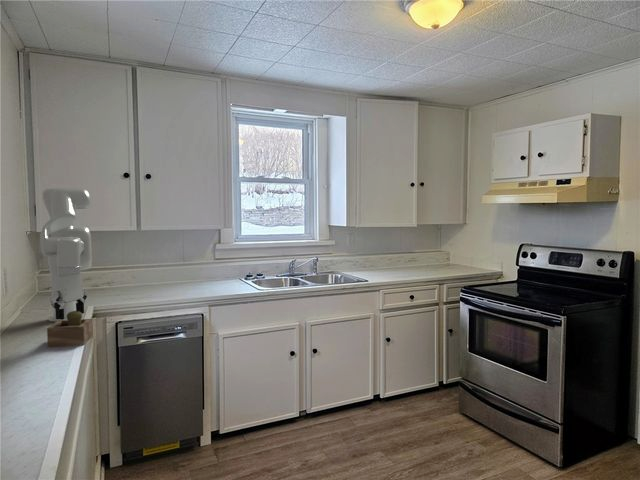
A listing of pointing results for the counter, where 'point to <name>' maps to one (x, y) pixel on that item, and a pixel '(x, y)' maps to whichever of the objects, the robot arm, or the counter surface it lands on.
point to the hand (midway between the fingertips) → (70, 316)
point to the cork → (74, 318)
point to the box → (69, 333)
